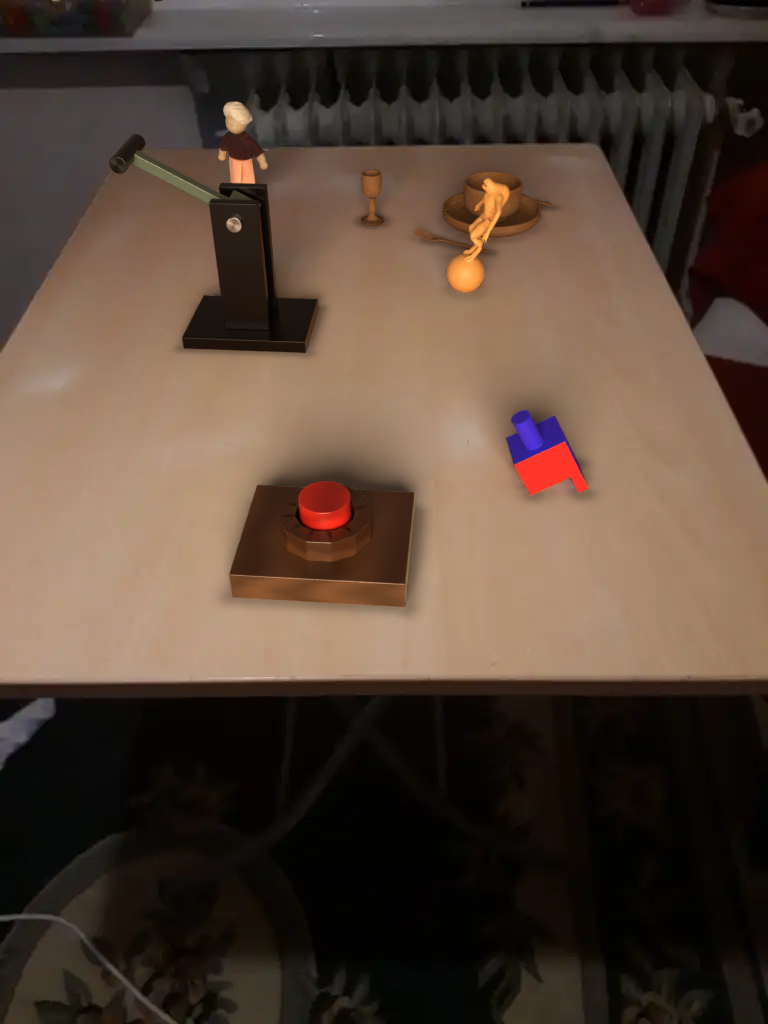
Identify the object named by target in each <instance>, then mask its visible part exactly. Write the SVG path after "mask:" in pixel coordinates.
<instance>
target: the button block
mask: <svg viewBox="0 0 768 1024" xmlns="http://www.w3.org/2000/svg"><path fill="white" fill-rule="evenodd" d="M340 484H341V483H340ZM341 485H343V486H344V487H346V488H347V489H348V491H349V493H350V502H351V518H350V520H349V522H348V523H347V524H346V525H345V526H344V527H342V528H339V529H335V530H332V531H313V530H310V529H308V528H307V527H305V526H304V525H303V524H302V522H301V520H300V513H299V501H298V497H299V494H300V492H301V491H302V489H303V488H305V487H306V486H294V485H273V484H272V485H270V484H257V485H256V486H255V489H254V493H253V495H252V496H253V497H252V500H251V503H250V506H249V510H248V512H247V517H246V518H245V522H244V526H243V528H242V531H241V535H240V538H239V542H238V545H237V548H236V551H235V554H234V557H233V560H232V564H231V567H230V571H229V574H228V577H229V582H230V583H229V584H230V589H231V595H232V598H238V599H256V600H257V599H258V600H273V601H289V602H290V601H291V602H306V603H307V602H309V603H327V604H343V605H344V604H346V605H362V606H379V607H397V608H405V607H406V605H407V604H406V602H407V594H408V593H407V592H408V582H409V573H410V563H411V555H412V554H411V552H412V542H413V532H414V521H415V507H416V506H415V502H416V499H415V497H416V495H415V491H402V490H401V491H398V490H396V491H395V490H378V489H377V490H374V489H359V488H357V489H356V488H353V487H350V486H348V485H346V484H343V483H342V484H341Z"/></svg>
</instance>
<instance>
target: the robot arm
mask: <svg viewBox="0 0 768 1024" xmlns="http://www.w3.org/2000/svg"><path fill="white" fill-rule="evenodd" d="M153 1H154V3H157V2H163V1H164V0H153ZM47 2H48V3H49V5H50V6H51V7H54V8H55V10H56V12H57V13H65V12H66V13H67V6H66V4H67V3H66V0H47Z"/></svg>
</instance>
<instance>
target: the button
mask: <svg viewBox="0 0 768 1024" xmlns="http://www.w3.org/2000/svg"><path fill="white" fill-rule="evenodd" d="M343 485H344V484H343ZM343 485H341V483H339V482H336V481H330V480H322V481H315V482H311V483H309V484H307V485H306V486H304V487H305V488H303V489H302V491H301V492H300V494H299V497H298V501H299V513H300V520H301V522H302V524H303V525H304V526H305V527H307V528H308V529H310V530H313V531H332V530H335V529H339V528H342V527H344V526H345V525H346V524H347V523H348V522H349V520H350V518H351V502H350V493H349V491H348V489H347V488H346V487H344V486H343Z"/></svg>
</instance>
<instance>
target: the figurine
mask: <svg viewBox="0 0 768 1024" xmlns="http://www.w3.org/2000/svg"><path fill="white" fill-rule="evenodd" d="M482 188H483V189H484V190H485V191H486V193H485V195H484V197H483V199H482V200H481V201H480V203H479V204H478V205H477V206H476V208H475V210H476V211H477V209H478V208H479V209H480V207H481V206H482V204H483V203H484V211H483V213H482V214H481V215H480V216H479V217H478V218H477V219H476V220H475V221H474V222H473V223H472V224H471V225H470V226H469V232H470V234H469V237H470V240H471V241H472V242H473V245H472V246H473V247H472V248H471V249H470V248H468V249H466V250H464V251H463V252H462V253H459V254H457V255H455V256H454V257H453V258H452V259H451V260H450V261H449V263H448V265H447V268H446V278H447V282H448V284H449V285H450V287H452V288H453V289H454V290H455V291H458V292H461V293H469V292H472V291H475V290H477V288H479V287H480V286H481V284H482V282H483V281H484V277H485V266H484V264H483V262H482V261H481V259H480V258H479V257H478V255H479V254H480V252H482V251H481V250H482V249H483V243H484V244H486V243H487V241H488V239H489V238H490V237H489V234H490V231H491V230H492V228H493V227H494V225H495V224H496V222H497V220H498V218H499V217H500V214H501V209H502V208H503V206H504V205H505V203H506V202H507V200H508V198H509V195H510V190H509V187H508V186H507V185H505V184H501V183H496V182H494V181H493V180H491V179H490V178H486V179H485V180H484V184H483V185H482ZM479 209H478V210H479ZM475 210H474V211H475ZM484 232H486V233H484ZM482 235H484V236H483V237H481V236H482Z"/></svg>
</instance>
